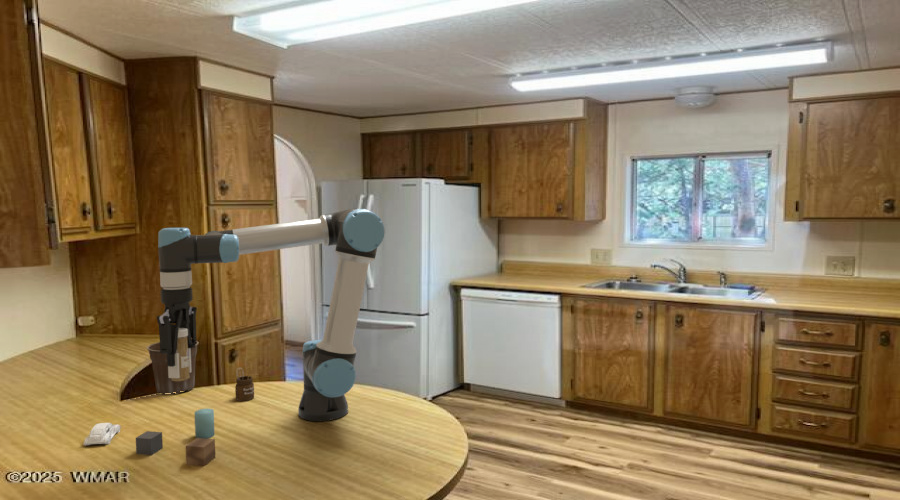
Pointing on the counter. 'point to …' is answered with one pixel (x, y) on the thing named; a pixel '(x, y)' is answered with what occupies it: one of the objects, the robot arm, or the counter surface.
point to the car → (102, 433)
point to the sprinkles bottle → (182, 355)
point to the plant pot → (161, 371)
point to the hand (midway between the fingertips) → (180, 374)
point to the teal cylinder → (204, 423)
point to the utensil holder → (244, 386)
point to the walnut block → (200, 452)
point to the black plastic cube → (149, 443)
